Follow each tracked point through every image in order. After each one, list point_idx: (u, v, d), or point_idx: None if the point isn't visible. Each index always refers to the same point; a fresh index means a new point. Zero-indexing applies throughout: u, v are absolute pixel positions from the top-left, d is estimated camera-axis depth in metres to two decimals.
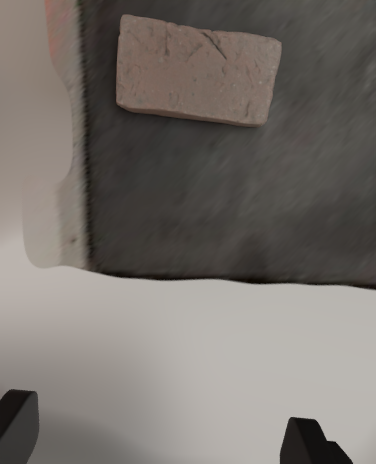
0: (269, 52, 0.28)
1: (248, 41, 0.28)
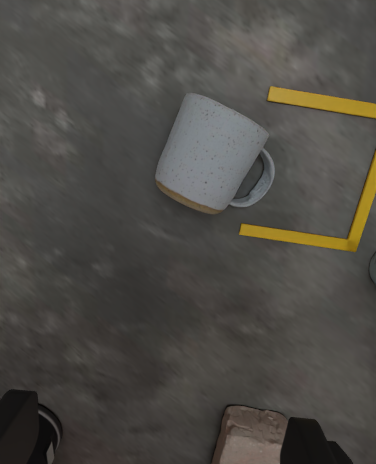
0: (238, 445, 0.33)
1: (228, 458, 0.34)
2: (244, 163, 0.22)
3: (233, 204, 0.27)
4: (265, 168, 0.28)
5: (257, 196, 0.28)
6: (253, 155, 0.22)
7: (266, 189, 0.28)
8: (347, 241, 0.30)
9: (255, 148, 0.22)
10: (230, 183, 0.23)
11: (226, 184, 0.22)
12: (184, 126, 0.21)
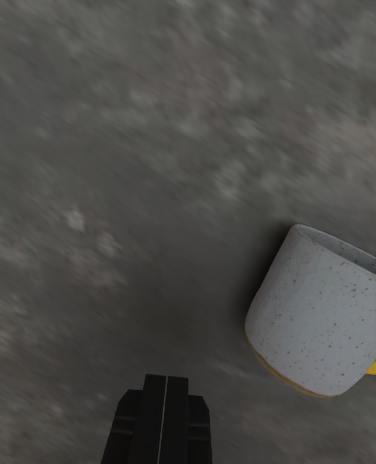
0: None
1: None
2: None
3: None
4: None
5: None
6: None
7: None
8: None
9: None
10: None
11: (367, 368, 0.15)
12: (308, 295, 0.14)
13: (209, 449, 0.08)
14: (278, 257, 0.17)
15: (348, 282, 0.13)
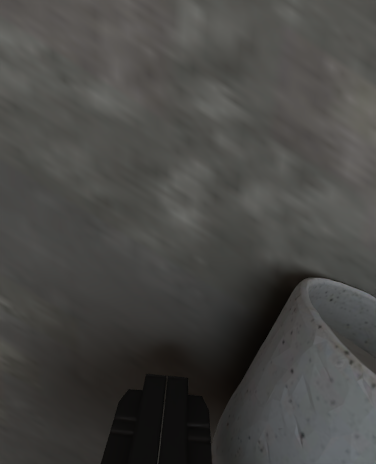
0: None
1: None
2: None
3: None
4: None
5: None
6: None
7: None
8: None
9: None
10: None
11: None
12: None
13: (209, 449, 0.08)
14: (269, 351, 0.09)
15: None
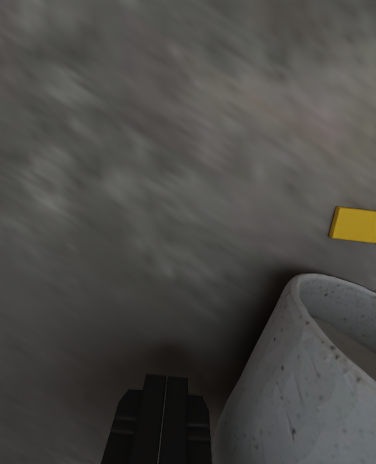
0: None
1: None
2: None
3: None
4: None
5: None
6: None
7: None
8: None
9: None
10: None
11: None
12: None
13: (209, 449, 0.08)
14: (262, 349, 0.09)
15: None
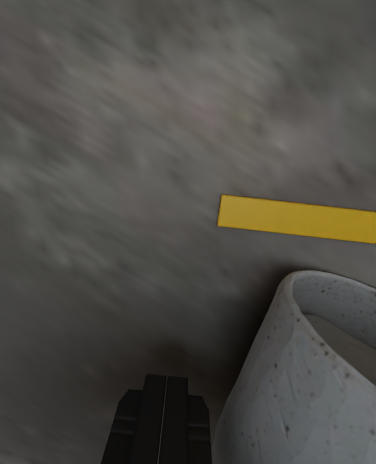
0: None
1: None
2: None
3: None
4: None
5: None
6: None
7: None
8: None
9: None
10: None
11: None
12: None
13: (209, 449, 0.08)
14: (257, 347, 0.09)
15: None
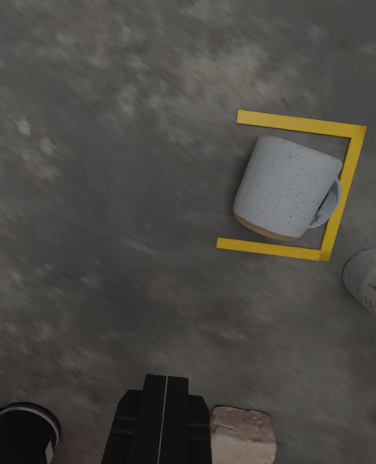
0: (223, 444, 0.35)
1: (214, 456, 0.36)
2: (323, 194, 0.24)
3: None
4: (331, 189, 0.29)
5: (325, 216, 0.29)
6: (330, 185, 0.24)
7: (334, 208, 0.29)
8: (319, 252, 0.32)
9: (333, 179, 0.24)
10: (311, 213, 0.24)
11: (308, 215, 0.24)
12: (266, 167, 0.23)
13: (209, 449, 0.08)
14: (251, 156, 0.26)
15: (287, 152, 0.22)
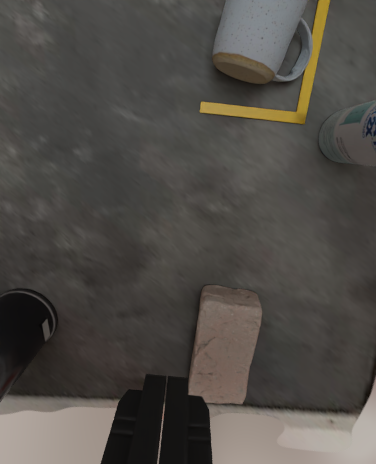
0: (211, 309, 0.37)
1: (204, 323, 0.38)
2: (292, 19, 0.26)
3: (279, 77, 0.31)
4: (303, 44, 0.32)
5: (299, 70, 0.32)
6: (298, 13, 0.26)
7: (306, 62, 0.32)
8: (296, 114, 0.34)
9: (300, 5, 0.26)
10: (281, 39, 0.27)
11: (278, 41, 0.26)
12: None
13: (209, 449, 0.08)
14: None
15: None
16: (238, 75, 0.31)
